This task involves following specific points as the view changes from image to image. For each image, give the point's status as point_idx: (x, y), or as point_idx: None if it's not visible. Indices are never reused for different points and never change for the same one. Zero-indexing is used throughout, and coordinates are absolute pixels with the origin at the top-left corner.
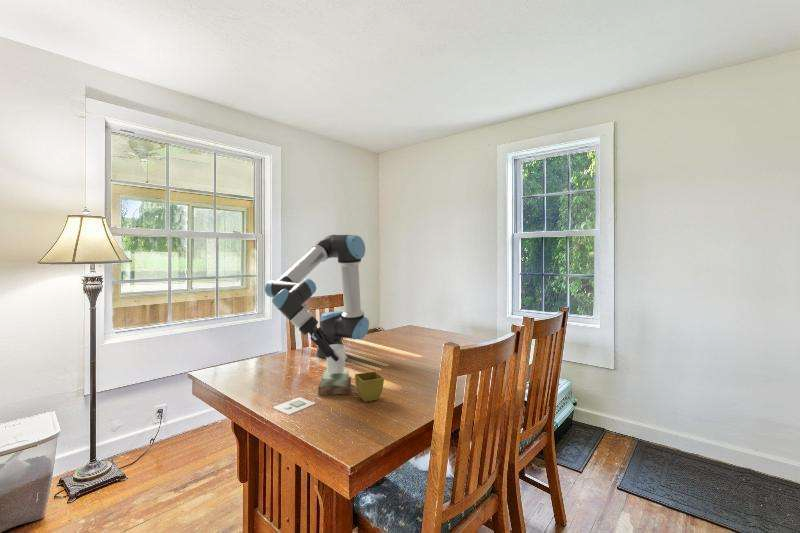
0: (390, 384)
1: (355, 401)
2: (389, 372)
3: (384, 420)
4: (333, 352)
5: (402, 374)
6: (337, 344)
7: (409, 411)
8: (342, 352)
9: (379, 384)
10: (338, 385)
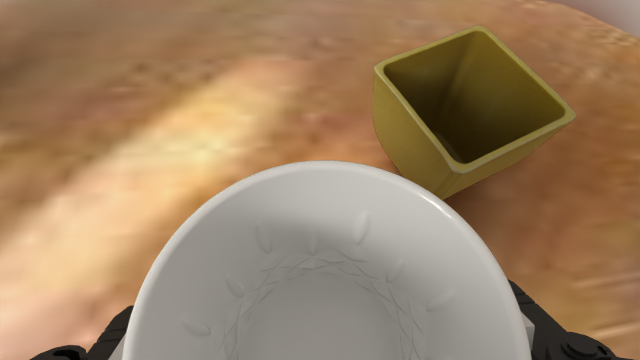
0: (236, 91)
1: (473, 222)
2: (59, 97)
3: (611, 104)
4: (581, 340)
5: (104, 50)
6: (138, 337)
7: (503, 38)
8: (418, 222)
9: (485, 67)
10: None
